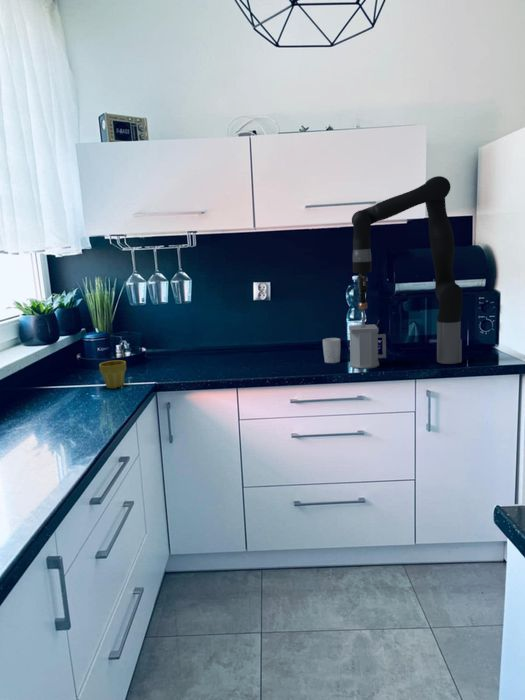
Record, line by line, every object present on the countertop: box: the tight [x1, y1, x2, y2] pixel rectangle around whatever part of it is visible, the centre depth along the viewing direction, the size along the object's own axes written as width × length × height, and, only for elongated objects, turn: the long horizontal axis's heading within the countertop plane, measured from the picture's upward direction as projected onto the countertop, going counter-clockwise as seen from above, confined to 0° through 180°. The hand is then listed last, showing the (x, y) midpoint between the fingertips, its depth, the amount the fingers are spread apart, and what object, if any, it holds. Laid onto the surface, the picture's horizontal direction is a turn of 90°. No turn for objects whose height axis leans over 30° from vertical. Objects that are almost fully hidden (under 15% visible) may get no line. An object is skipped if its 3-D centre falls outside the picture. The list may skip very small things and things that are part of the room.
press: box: [348, 324, 387, 370], centre depth 230 cm, size 15×12×16 cm
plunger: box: [357, 302, 368, 328], centre depth 228 cm, size 9×9×16 cm
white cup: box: [322, 337, 341, 364], centre depth 242 cm, size 8×8×10 cm
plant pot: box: [98, 359, 127, 389], centre depth 221 cm, size 10×10×10 cm
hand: (362, 302), depth 227 cm, fingers closed
